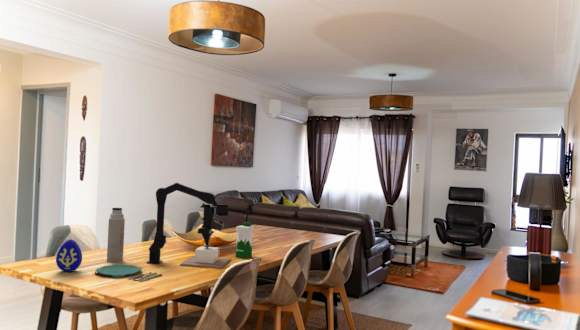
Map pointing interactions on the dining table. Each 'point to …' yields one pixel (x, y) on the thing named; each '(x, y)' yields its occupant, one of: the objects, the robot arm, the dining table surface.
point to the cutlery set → (124, 271)
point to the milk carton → (244, 240)
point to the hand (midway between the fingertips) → (207, 244)
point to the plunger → (207, 245)
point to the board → (218, 264)
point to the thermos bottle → (115, 236)
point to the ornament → (69, 256)
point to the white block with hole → (206, 254)
